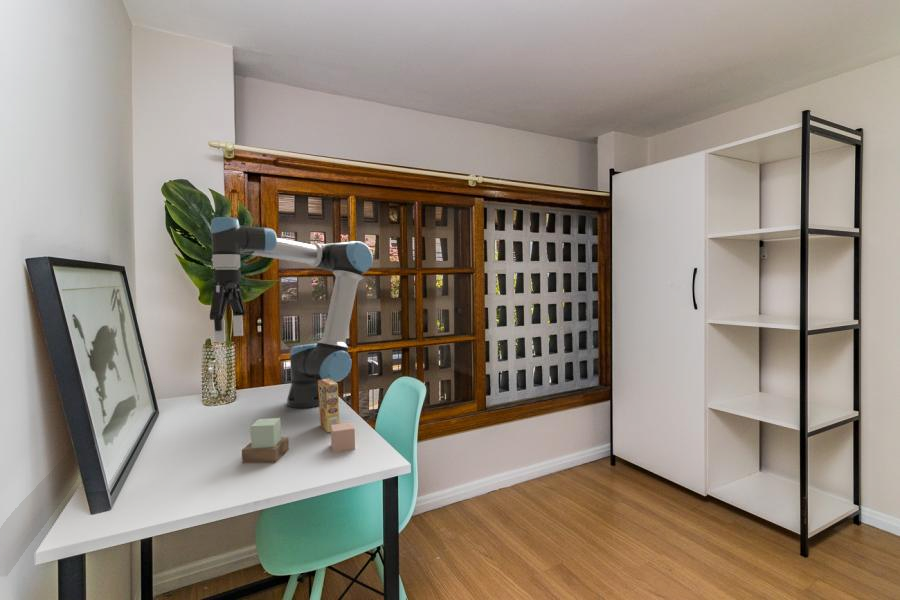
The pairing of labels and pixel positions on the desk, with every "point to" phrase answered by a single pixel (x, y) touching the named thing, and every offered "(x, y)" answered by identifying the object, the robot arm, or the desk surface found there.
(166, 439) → the desk surface
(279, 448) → the walnut plinth
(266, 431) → the green cube
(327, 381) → the candy box
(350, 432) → the terracotta cube
